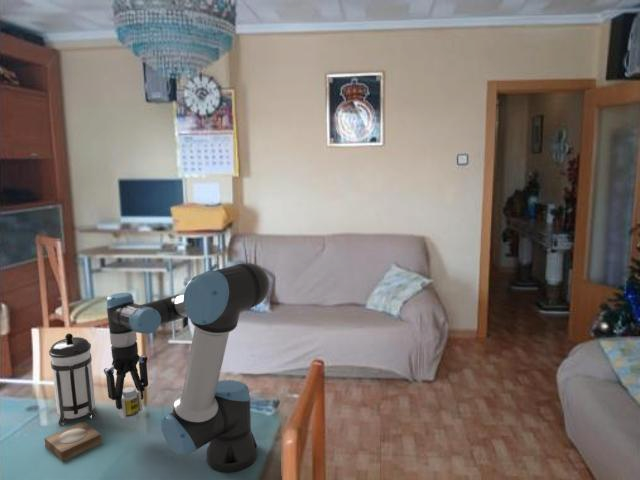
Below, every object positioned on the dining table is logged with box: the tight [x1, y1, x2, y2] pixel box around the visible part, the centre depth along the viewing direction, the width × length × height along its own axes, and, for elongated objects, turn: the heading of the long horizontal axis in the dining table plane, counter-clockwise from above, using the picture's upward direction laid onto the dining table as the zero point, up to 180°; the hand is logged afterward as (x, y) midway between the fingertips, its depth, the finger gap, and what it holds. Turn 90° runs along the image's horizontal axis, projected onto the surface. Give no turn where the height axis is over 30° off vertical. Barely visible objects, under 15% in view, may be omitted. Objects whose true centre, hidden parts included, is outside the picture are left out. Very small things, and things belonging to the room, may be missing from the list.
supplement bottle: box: [122, 386, 140, 419], centre depth 154 cm, size 5×5×8 cm
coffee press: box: [48, 332, 96, 426], centre depth 168 cm, size 17×16×30 cm
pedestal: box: [43, 421, 103, 462], centre depth 154 cm, size 12×12×3 cm
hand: (131, 413), depth 155 cm, fingers closed on supplement bottle, 5 cm apart
